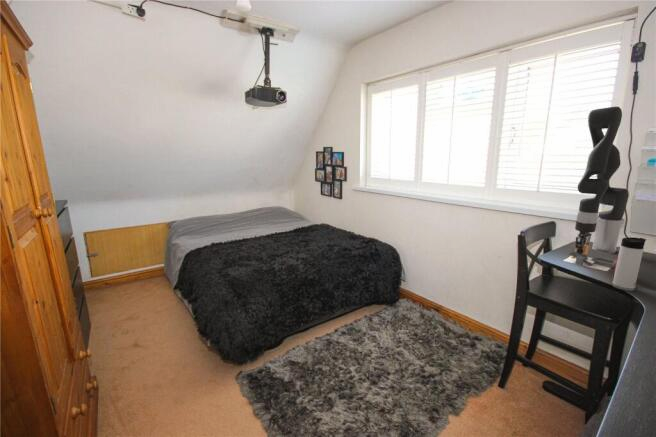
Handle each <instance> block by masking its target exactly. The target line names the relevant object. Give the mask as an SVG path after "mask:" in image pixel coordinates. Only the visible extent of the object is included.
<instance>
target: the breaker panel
mask: <svg viewBox="0 0 656 437" xmlns="http://www.w3.org/2000/svg"><path fill="white" fill-rule="evenodd" d="M587 258H588V259H590V260H591V259H593V258H594V257H589V256H588V257H587ZM562 261H563V262H567V263H571V264H575V265H577V264H576V258H575V257H573V256H571V255H570V256H568V257H567V258H565V259H563V260H562ZM597 261H599V260H597ZM601 262H603V261H601ZM606 263H608V262H606ZM610 264H611V263H610ZM578 265H579V266H581V265H580V264H578ZM582 266H583V267H586V268H587V267H588V268H591V269H596V270H600V271H603V272H604V271H605V272H608V271H609V270H611V268H610V267H606V266H602V265H597V264H593V265H591V266H590V265H588V264H586V263H584V262H583V265H582Z"/></svg>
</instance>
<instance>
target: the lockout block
mask: <svg viewBox="0 0 656 437" xmlns="http://www.w3.org/2000/svg"><path fill="white" fill-rule="evenodd" d="M579 246H581V245H579ZM589 247H590V244H589V245H588V244H586V245H584V249H583V254H586V255H588V254H589ZM574 251H575V252H577V248H574Z"/></svg>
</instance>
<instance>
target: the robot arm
mask: <svg viewBox="0 0 656 437" xmlns="http://www.w3.org/2000/svg"><path fill="white" fill-rule="evenodd" d="M622 117H623V111H622V108H621V107H620V106H609V107H604V108H603V107H602V108H596V109H593V110H591V111H589V113H588V115H587V126H588V128H589V129H588V130H589V134H590V137H591V138H590V139H591V142H592V146H593V147H592V150H591V151H590V153H589V154H588V158H587V164H586V168H585V171H584V173H583V175H582V177H581V179H580V180H579V181H578V184H577V191H578V192H579V193H580V194H587V195H588V194H589V195H595V196H593V197H591V198H583V199H581V200H580V202H579V208H578V212H577V215H576V219H575V220H576V221H575V226H574V229H575V231H578V232H579V233H578V234H577V236H576V238H575V248H577V253H579V254H580V255H581V254H583V249H584V245H586V244H588V245H589V246H590V241H591V239H592V235H593V233H594V237H593V243H592V247H591V248H592V250H595V251H600V252H605V253H609V254H615V253H616V251H617V250H616V249H617V246H618V242H619V238H620V236H619V235H620V231H621V226H622V221H623V218H624V215H625V212H626V208H627V204H628V201H629V196H630V193H629V190H628V189H627V188H622V187H611V186H610V180H611V178H612V176H613V175H614V174H615V173H616V172H617V171H618V170H619V168H620V166H621V164H622V163H621V152H620V151H619V149H618V147H617V146H616V145H614V141H615V139H616V136H617V134H618V131H619V128H620V126H621V124H622V123H621V122H622ZM603 130H606V132H605V134H604V132H603ZM595 175H596V178H591V177H592V176H595ZM600 205H603V206H604V205H605V206H610V207H611V206H612V209H610V210H606V211H600V212H599V209H600V208H599V207H600ZM579 245H581V246H579ZM575 248H574V249H575Z"/></svg>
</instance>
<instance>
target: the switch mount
mask: <svg viewBox="0 0 656 437" xmlns="http://www.w3.org/2000/svg"><path fill="white" fill-rule="evenodd" d="M581 255H582V256H584V257H586V258H587V257H589V256H588V254H587V255H586V254H581ZM584 257H579V256H577V258H576V264H575V265H579V264H580V265H579V266H583V259H584Z"/></svg>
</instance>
